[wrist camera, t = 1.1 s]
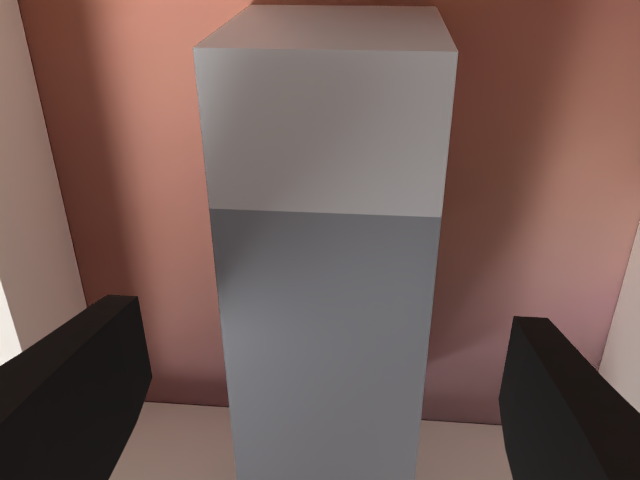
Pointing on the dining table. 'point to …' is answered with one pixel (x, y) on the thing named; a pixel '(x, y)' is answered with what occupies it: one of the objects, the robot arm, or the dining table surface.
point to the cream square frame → (178, 419)
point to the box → (326, 229)
